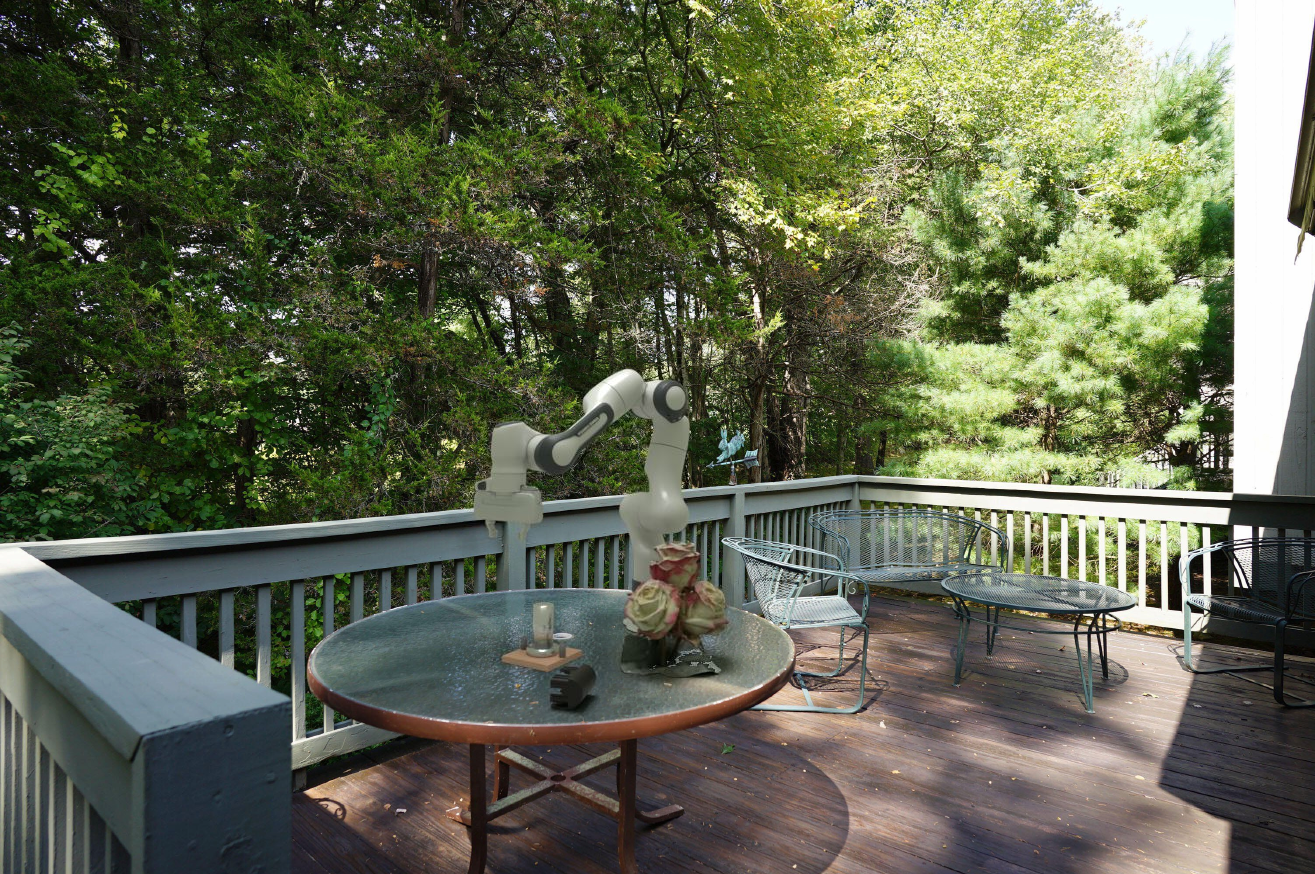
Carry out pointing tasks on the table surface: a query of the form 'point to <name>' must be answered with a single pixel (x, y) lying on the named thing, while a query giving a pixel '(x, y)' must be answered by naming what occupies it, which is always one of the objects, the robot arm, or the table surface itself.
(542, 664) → the locating plate
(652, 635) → the rose bouquet
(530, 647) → the hub
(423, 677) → the table surface
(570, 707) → the end cap
